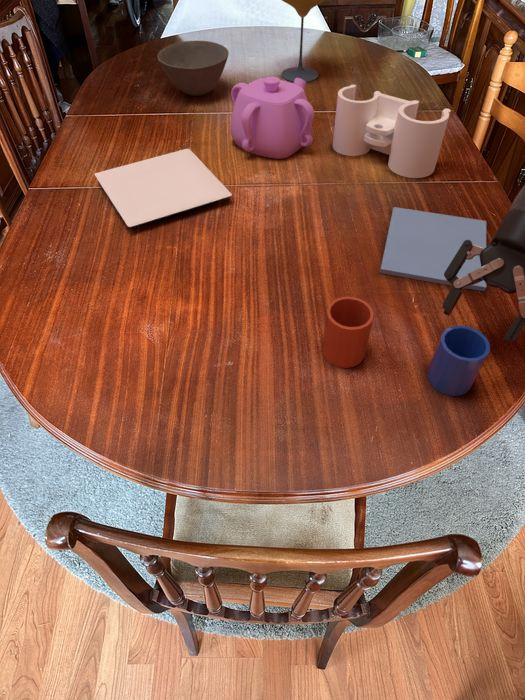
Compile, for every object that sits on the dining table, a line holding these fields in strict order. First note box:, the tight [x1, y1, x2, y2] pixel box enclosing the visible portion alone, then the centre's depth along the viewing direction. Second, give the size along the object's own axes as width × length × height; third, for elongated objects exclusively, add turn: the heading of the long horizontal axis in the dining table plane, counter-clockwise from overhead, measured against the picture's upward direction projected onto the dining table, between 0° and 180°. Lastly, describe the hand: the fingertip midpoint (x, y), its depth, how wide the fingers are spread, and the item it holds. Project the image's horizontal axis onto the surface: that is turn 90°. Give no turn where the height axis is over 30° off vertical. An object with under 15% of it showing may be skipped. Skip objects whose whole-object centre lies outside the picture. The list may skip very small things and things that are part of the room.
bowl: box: [157, 40, 230, 97], centre depth 137 cm, size 19×19×10 cm
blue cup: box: [426, 325, 491, 397], centre depth 72 cm, size 6×6×8 cm
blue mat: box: [379, 206, 487, 292], centre depth 95 cm, size 18×20×1 cm
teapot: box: [230, 75, 315, 160], centre depth 118 cm, size 19×21×14 cm
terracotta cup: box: [321, 296, 375, 369], centre depth 75 cm, size 7×7×8 cm
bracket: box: [332, 84, 452, 179], centre depth 113 cm, size 25×10×12 cm, turn 54°
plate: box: [94, 148, 233, 228], centre depth 107 cm, size 22×22×2 cm
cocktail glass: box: [281, 0, 327, 83], centre depth 139 cm, size 18×18×25 cm
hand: (475, 328), depth 70 cm, fingers open, 8 cm apart
